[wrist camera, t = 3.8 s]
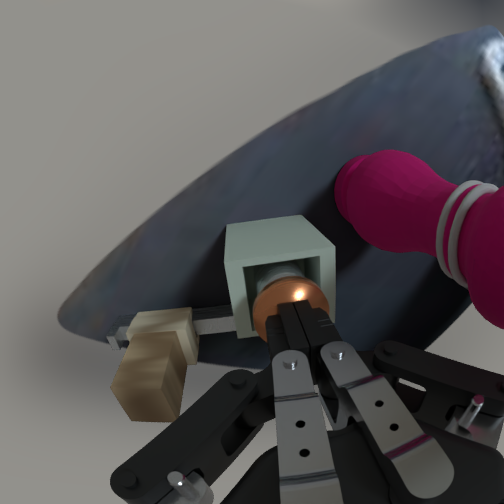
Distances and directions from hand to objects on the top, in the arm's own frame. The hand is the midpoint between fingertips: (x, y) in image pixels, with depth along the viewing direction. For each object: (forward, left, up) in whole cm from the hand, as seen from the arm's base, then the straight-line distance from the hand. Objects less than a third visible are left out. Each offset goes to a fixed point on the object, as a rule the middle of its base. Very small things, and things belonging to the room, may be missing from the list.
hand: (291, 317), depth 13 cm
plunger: (0, 0, -6) cm, 6 cm away
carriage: (+9, +5, -9) cm, 14 cm away
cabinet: (0, 0, -10) cm, 10 cm away
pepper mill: (-9, -4, -10) cm, 14 cm away
